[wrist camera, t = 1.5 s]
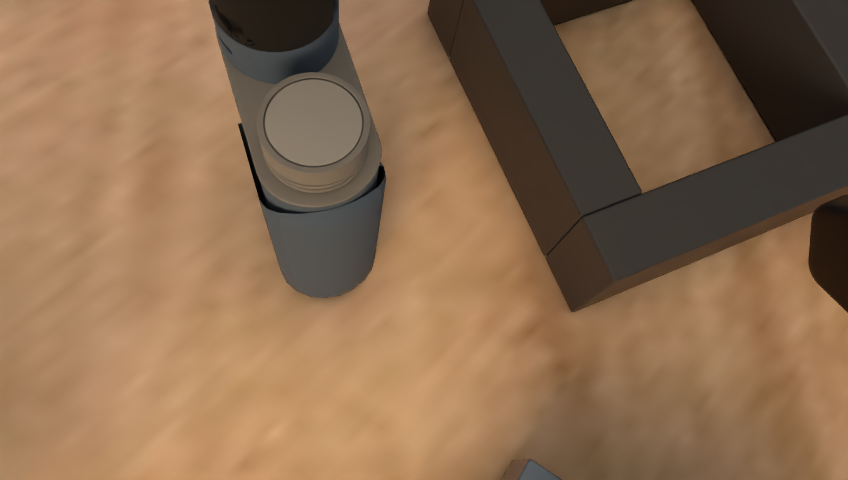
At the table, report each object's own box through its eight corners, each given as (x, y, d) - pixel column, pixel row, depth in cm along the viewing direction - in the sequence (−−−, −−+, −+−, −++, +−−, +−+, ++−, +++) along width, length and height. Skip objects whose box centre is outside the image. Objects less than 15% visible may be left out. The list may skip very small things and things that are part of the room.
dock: (862, 191, 23) (949, 143, 20) (571, 313, 21) (614, 282, 17) (700, -70, 26) (753, -151, 22) (426, 13, 23) (440, -64, 20)
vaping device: (331, 126, 22) (318, -259, 10) (383, 289, 20) (435, 52, 9) (245, 147, 21) (132, -234, 10) (293, 316, 20) (226, 100, 8)
